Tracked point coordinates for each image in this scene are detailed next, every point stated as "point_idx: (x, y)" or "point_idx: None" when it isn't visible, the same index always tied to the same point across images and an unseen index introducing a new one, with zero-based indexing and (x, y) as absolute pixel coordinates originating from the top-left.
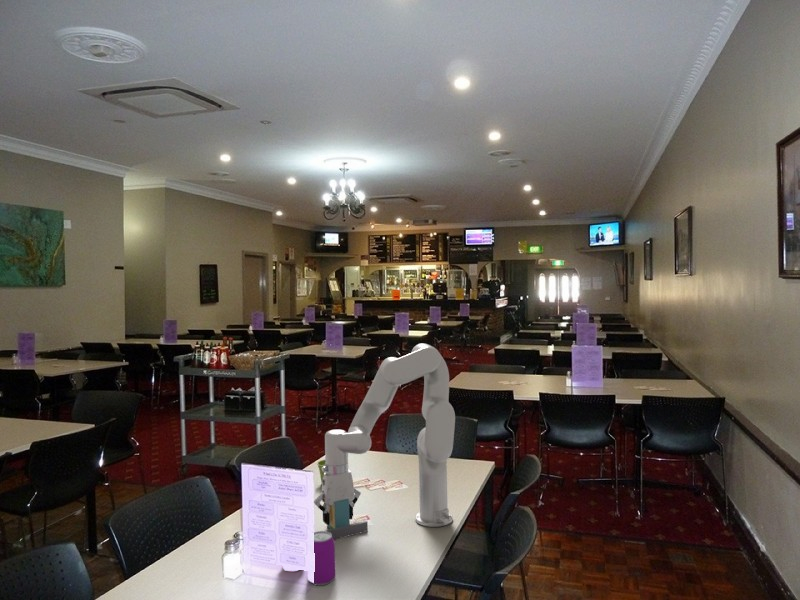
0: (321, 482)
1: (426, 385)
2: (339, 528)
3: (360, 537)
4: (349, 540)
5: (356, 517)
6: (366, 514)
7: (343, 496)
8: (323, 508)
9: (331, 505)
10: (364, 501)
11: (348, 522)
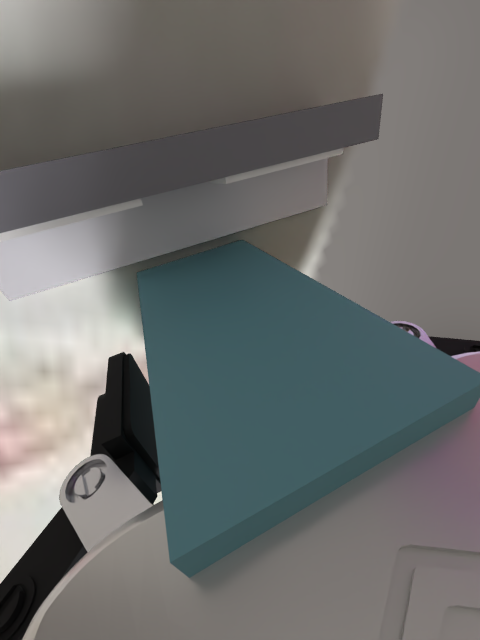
0: None
1: None
2: (269, 124)
3: (11, 29)
4: (153, 11)
5: (82, 442)
6: (6, 482)
7: (370, 634)
8: None
9: (453, 356)
10: None
11: (150, 291)
